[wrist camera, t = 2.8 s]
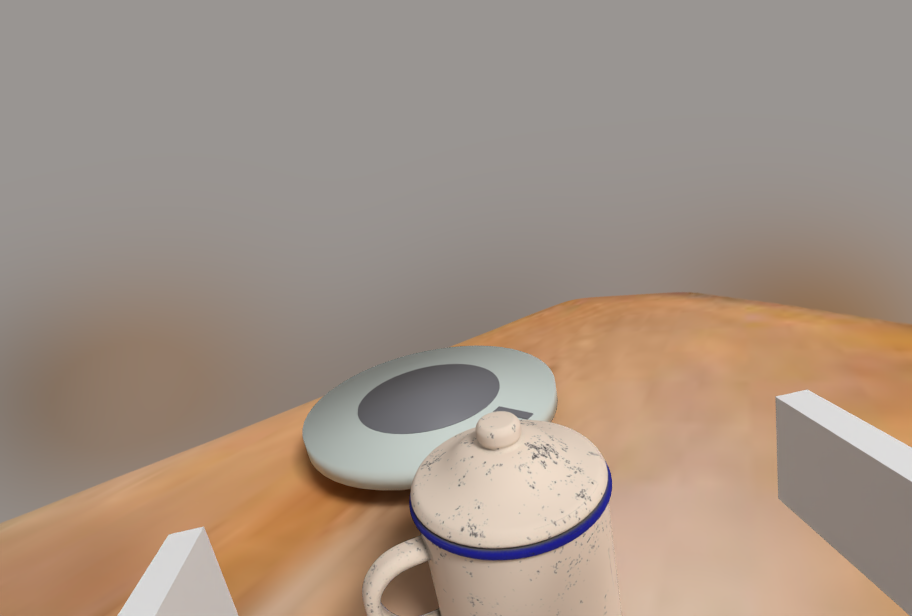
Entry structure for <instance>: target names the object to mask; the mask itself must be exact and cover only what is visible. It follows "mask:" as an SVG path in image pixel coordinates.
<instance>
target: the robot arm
mask: <svg viewBox="0 0 912 616" xmlns="http://www.w3.org/2000/svg"><path fill="white" fill-rule="evenodd" d="M776 429H777V466H778V499H780V500H781V501H782V502H783V503H784V504H785V505H786V506H787V507H789V508H790V509H791V510H792V511H793V512H794V513H795V514H796V515H798V516H799V517H800V518H801V519H802V520H803V521H804V522H805V523H807V524H808V525H809V526H810V527H811V528H812V529H813V530H814V531H815V532H817V533H818V534H819V535H820V536H821V537H822V538H823V539H824V540H826V541H827V542H828V543H829V544H830V545H831V546H832V547H833V548H835V549H836V550H837V551H838V552H839V553H840V554H841V555H842V556H844V557H845V558H846V559H847V560H848V561H849V562H850V563H851V564H853V565H854V566H855V567H856V568H857V569H858V570H859V571H860V572H862V573H863V574H864V575H865V576H866V577H867V578H868V579H869V580H871V581H872V582H873V583H874V584H875V585H876V586H877V587H878V588H880V589H881V590H882V591H883V592H884V593H885V594H886V595H887V596H888V597H890V598H891V599H892V600H893V601H894V602H895V603H896V604H897V605H899V606H900V607H901V608H902V609H903V610H904V611H905V612H906V613H908V614H909V615H910V616H912V448H911V447H909V446H908V445H906V444H904V443H902V442H900V441H899V440H897V439H895V438H893V437H892V436H890V435H888V434H886V433H884V432H883V431H881V430H879V429H877V428H875V427H874V426H872V425H870V424H868V423H866V422H865V421H863V420H861V419H859V418H857V417H856V416H854V415H852V414H850V413H848V412H847V411H845V410H843V409H841V408H840V407H838V406H836V405H834V404H832V403H831V402H829V401H827V400H825V399H823V398H822V397H820V396H818V395H816V394H814V393H813V392H811V391H809V390H803V391H799V392H795V393H790V394H786V395H781V396H777V397H776ZM118 616H238V614H237V611H236V608H235V606H234V603H233V601H232V598H231V595H230V593H229V590H228V588H227V585H226V583H225V580H224V577H223V575H222V572H221V570H220V567H219V564H218V562H217V559H216V557H215V554H214V552H213V549H212V546H211V544H210V541H209V539H208V536H207V533H206V531H205V528H204V527H200V528H196V529H191V530H187V531H182V532H178V533H174V534H169V535H168V537H167V538H166V540H165V541H164V543H163V545H162V546H161V548H160V549H159V551H158V553H157V554H156V556H155V557H154V559H153V560H152V562H151V564H150V565H149V567H148V568H147V570H146V572H145V573H144V575H143V576H142V578H141V580H140V581H139V583H138V584H137V586H136V587H135V589H134V591H133V592H132V594H131V595H130V597H129V599H128V600H127V602H126V603H125V605H124V607H123V608H122V610H121V611H120V613H119V614H118Z"/></svg>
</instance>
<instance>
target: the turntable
mask: <svg viewBox="0 0 912 616" xmlns="http://www.w3.org/2000/svg"><path fill="white" fill-rule="evenodd" d="M557 402H558V399H557V392H556V385H555V379H554V375H553V373H552V371H551V370H550V368H549V367H548V366H547V365H546V364H545V363H544V362H542V361H541V360H539V359H538V358H536V357H534V356H532V355H530V354H527V353H524V352H522V351H518V350H514V349H509V348H503V347H493V346H460V347H449V348H441V349H435V350H429V351H424V352H420V353H416V354H411V355H408V356H404V357H400V358H397V359H394V360H391V361H388V362H385V363H383V364H380V365H377V366H375V367H372V368H370V369H368V370H365V371H363V372H361V373H359V374H357V375H355V376H353V377H351V378H349V379H348V380H346V381H344V382H343V383H341V384H339V385H338V386H337V387H335V388H334V389H332V390H331V391H329V392H328V393H327V394H326V395H325V396H324V397H322V398H321V399H320V400H319V401H318V402H317V403H316V404H315V406H314V407H313V408H312V409H311V411H310V412H309V414H308V415H307V418H306V420H305V422H304V426H303V439H304V443H305V446H306V449H307V453H308V456H309V458H310V461H311V463H312V464H313V466H314V467H315V468H316V469H317V470H318V471H319V472H320V473H321V474H323V475H324V476H326V477H327V478H329V479H331V480H333V481H335V482H338V483H341V484H344V485H347V486H351V487H357V488H362V489H371V490H406V489H411V486H412V482H413V479H414V476H415V474H416V472H417V470H418V468H419V466H420V465H421V463H422V462H423V461H424V459H425V458H426V457H427V456H428V455H429V454H430V453H431V452H432V451H433V450H434V449H435V448H437V447H438V446H439V445H441V444H442V443H443V442H445V441H447V440H448V439H450V438H452V437H453V436H455V435H457V434H459V433H462V432H464V431H466V430H469V429H472V428H475V427H476V424H477V422H478V421H479V419H480V418H481V417H483V416H484V415H486V414H488V413H492V412H496V411H506V412H510V413H512V414H514V415H515V416H516V417H517V418H518V419H519V420H539V421H546V422H551V421H552V420H553V418H554V415H555V413H556V410H557Z"/></svg>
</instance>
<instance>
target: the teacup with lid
mask: <svg viewBox="0 0 912 616" xmlns="http://www.w3.org/2000/svg"><path fill="white" fill-rule="evenodd" d="M611 491H612V478H611V473H610V470H609V467H608V465H607V463H606V461H605V460H604V458H603V456H602V454H601V453H600V451H599V450H598V449H597V448H596V447H595V445H594V444H593V443H592V442H591V441H589V440H588V439H587V438H586V437H584V436H583V435H581V434H580V433H578V432H576V431H574V430H572V429H570V428H568V427H565V426H562V425H559V424H555V423H551V422H546V421H539V420H519V419H518V418H517V417H516V416H515V415H514V414H512V413H510V412H506V411H496V412H492V413H488V414H486V415H484V416H483V417H481V418H480V419H479V421H478V422H477V424H476V427H475V428H472V429H469V430H466V431H464V432H462V433H459V434H457V435H455V436H453V437H452V438H450V439H448V440H447V441H445V442H443V443H442V444H441V445H439V446H438V447H437V448H435V449H434V450H433V451H432V452H431V453H430V454H429V455H428V456H427V457H426V458H425V459H424V461H423V462H422V463H421V465H420V466H419V468H418V470H417V472H416V474H415V476H414V479H413V482H412V486H411V493H410V499H409V505H410V512H411V516H412V519H413V521H414V523H415V525H416V527H417V528H418V530H419V531H420V532H421V535H420V536H418V537H415V538H413V539H410V540H407V541H405V542H402V543H400V544H398V545H396V546H394V547H392V548H390V549H389V550H387V551H386V552H384V553H383V554H382V555H381V556H380V557H379V558H378V559H377V560H376V561H375V562H374V563H373V565H372V566H371V567H370V569H369V571H368V572H367V574H366V576H365V579H364V582H363V588H362V597H363V603H364V607H365V610H366V613H367V616H398V615H396V614H393V613H392V612H390V611H389V610H387V609H386V608H385V607H384V606H383V604H382V603H381V596H382V593H383V591H384V590H385V588H386V586H387V585H388V584H389V582H390V581H391V580H392V579H393V578H394V577H396V576H397V575H398V574H400V573H401V572H403V571H405V570H407V569H409V568H411V567H414V566H416V565H419V564H421V563H424V562H426V561H428V563H429V567H430V571H431V575H432V579H433V583H434V587H435V591H436V596H437V600H438V604H439V608H438V609H437V610H434V611H432V612H429V613H427V614H424V615H420V616H622V611H621V603H620V594H619V586H618V577H617V569H616V561H615V552H614V544H613V535H612V527H611V518H610V510H609V500H610V497H611Z"/></svg>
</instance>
